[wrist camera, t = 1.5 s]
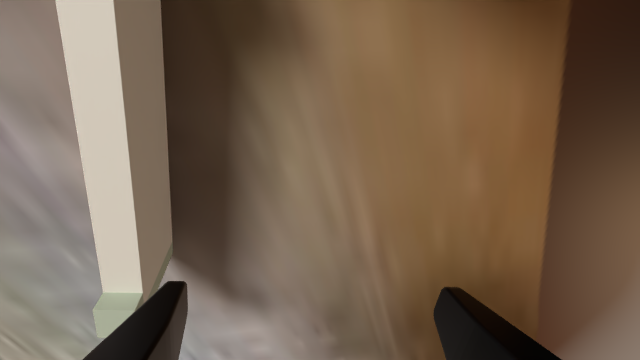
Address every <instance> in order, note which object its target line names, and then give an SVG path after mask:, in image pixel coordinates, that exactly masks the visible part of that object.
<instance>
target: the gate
mask: <svg viewBox="0 0 640 360" xmlns="http://www.w3.org/2000/svg"><path fill="white" fill-rule="evenodd" d="M56 7H57V13H58V19H59V25H60V31H61V37H62V43H63V49H64V56H65V62H66V68H67V74H68V80H69V86H70V92H71V98H72V104H73V111H74V117H75V123H76V129H77V135H78V141H79V147H80V153H81V160H82V166H83V172H84V178H85V184H86V190H87V196H88V202H89V209H90V215H91V221H92V227H93V233H94V239H95V245H96V251H97V258H98V264H99V270H100V276H101V282H102V288H103V294H102V295H101V297H100V299H99V300H98V302H97V304H96V305H95V307H94V309H93V315H94V321H95V326H96V332H97V337H98V338H107V337H108V336H109V335H110V334H111V333H112V332H113V331H114V330H115V329H116V328H117V327H118V326H120V325H121V324H122V323H123V322H124V321H125V320H126V319H127V318H128V317H129V316H130V315H131V314H133V313H134V312H135V311H136V310H137V309H138V308H139V307H140V306H141V305H142V304H143V303H144V302H145V301H147V300H148V299H149V298H150V297H151V296H152V295H153V294H154V293H155V292H156V291H157V290H158V288H159V285H160V283H161V280H162V278H163V275H164V273H165V270H166V268H167V266H168V263H169V261H170V258H171V256H172V253H173V242H172V222H171V202H170V181H169V161H168V141H167V121H166V101H165V81H164V60H163V40H162V20H161V0H56Z"/></svg>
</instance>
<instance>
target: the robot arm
mask: <svg viewBox="0 0 640 360" xmlns="http://www.w3.org/2000/svg"><path fill="white" fill-rule="evenodd" d="M187 311H188V301H187V284H186V282H184V281H168V282H166V283H165V284H164V285H163V286H162V287H161V288H160V289H158V290H157V291H156V292H155V293H154V294H153V295H152V296H151V297H150V298H149V299H148V300H147V301H145V302H144V303H143V304H142V305H141V306H140V307H139V308H138V309H137V310H136V311H135V312H134V313H133V314H131V315H130V316H129V317H128V318H127V319H126V320H125V321H124V322H123V323H122V324H121V325H120V326H118V327H117V328H116V329H115V330H114V331H113V332H112V333H111V334H110V335H109V336H108V337H107V338H105V339H104V340H103V341H102V342H101V343H100V344H99V345H98V346H97V347H96V348H95V349H94V350H92V351H91V352H90V353H89V354H88V355H87V356H86V357H85V358H84V359H83V360H178V359H179V354H180V349H181V344H182V339H183V334H184V329H185V324H186V319H187ZM434 320H435V324H436V327H437V330H438V334H439V337H440V340H441V343H442V347H443V350H444V353H445V357H446V360H561V359H560V358H559V357H557V356H556V355H554V354H553V353H551V352H550V351H549V350H547V349H546V348H544V347H543V346H542V345H540V344H539V343H537V342H536V341H534V340H533V339H532V338H530V337H529V336H527V335H526V334H525V333H523V332H522V331H520V330H519V329H517V328H516V327H515V326H513V325H512V324H510V323H509V322H508V321H506V320H505V319H503V318H502V317H500V316H499V315H498V314H496V313H495V312H493V311H492V310H491V309H489V308H488V307H486V306H485V305H484V304H482V303H481V302H479V301H478V300H476V299H475V298H474V297H472V296H471V295H469V294H468V293H467V292H465V291H464V290H462V289H461V288H459V287H444V288H443V289H442V290H441V292H440V295H439V297H438V300H437V303H436V305H435V308H434Z"/></svg>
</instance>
